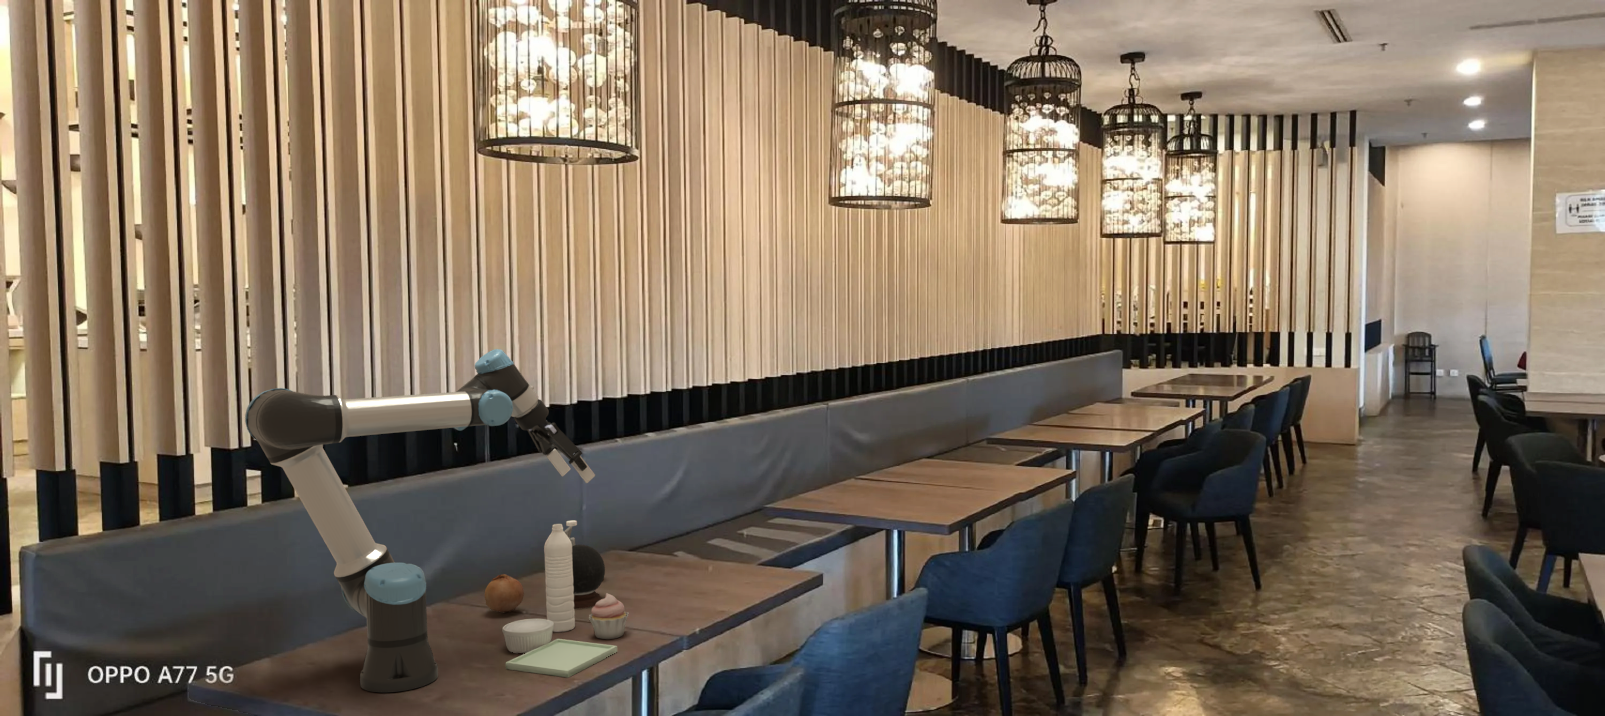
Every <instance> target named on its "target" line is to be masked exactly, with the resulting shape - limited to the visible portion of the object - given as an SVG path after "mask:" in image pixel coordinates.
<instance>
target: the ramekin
mask: <svg viewBox="0 0 1605 716" xmlns="http://www.w3.org/2000/svg"><path fill="white" fill-rule="evenodd" d="M553 628H554V623H553V622H552V621H550V620H547V619H546V618H526V619H518V620H514V621H512V622H510V623H509V622H508V623H507V624H504V625H503V626H502V629H501V631H502V633H503V636H504V641H505V646H506V648H507V650H508V651H509V652H510V653H512V652H513V653H512V654H518V653H523V654H524V653H527V652H530V651H532V650H534V649H536V648H538V647H541V646H543V645H545V644H547V643H549V642H552V638H553V632H552V631H553ZM523 654H522V655H523Z"/></svg>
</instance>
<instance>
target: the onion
mask: <svg viewBox="0 0 1605 716" xmlns="http://www.w3.org/2000/svg"><path fill="white" fill-rule="evenodd" d="M524 595H525V591H524V587H523V585H522V583H521V582H520V581H519V580H518V579H516V578H514V577H512V576H510V575H507V574H504V573H503V574H498V575H497V576H495V577H494V578H492V579H491V581H490V582H489V583H488V584H487V586H486V588H485V591H484V600H485V605H486V606H487V607H488V608H489V610H491V611H494V612H498V613H503V614H509V613H511V612H513V611H515V610H516V609H517V608H518V606H520V605H521V603H522V602H523V601H524V600H523V599H524Z"/></svg>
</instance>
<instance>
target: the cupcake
mask: <svg viewBox="0 0 1605 716" xmlns="http://www.w3.org/2000/svg"><path fill="white" fill-rule="evenodd" d="M624 605H625V604H624V603H623V602H621V601H620V600H618V599H617V598H616V597H615V596H614V595H612V594H610V593H608V592H606V594H605V595H604V598H602V599H601V600H599V601H598V602H597V603H596V604H595V606H593V607H592V608H591V614H589V615H588V616H589V617H588V620H589V621H590V623H591V625H592V628H593V631H594V635H595V637H596V638H598V639H601V640H612V639H613V640H614V639H617V638H620V637H622V636H623V635H624V634H625V629H626V622H627V620H628V617H629V612H626V611H625V610H626V609H625V606H624Z"/></svg>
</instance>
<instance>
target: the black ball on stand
mask: <svg viewBox="0 0 1605 716" xmlns="http://www.w3.org/2000/svg"><path fill="white" fill-rule="evenodd" d="M572 562H573V563H572V565H573V567H572V568H573V587H574V592H573V594H574V600H573V601H574V610H575V609H577V610H578V609H587V608H591V607H592V608H593V607H594V606H595V604H596V603H597V602H598V601H599V600H601V599H603V597H602V596H601V595H600V593H598V592H597V591H596V590H597V589H598V588H599V587H600V586H601V584H602V582H603V581H604V578H605V574H606V567H605V562H604V559H603V557H602V555H601V553H599V552H598V550H596V549H594V548H593V547H591V546H589V545H585V544H575V545H574V546H572Z"/></svg>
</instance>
